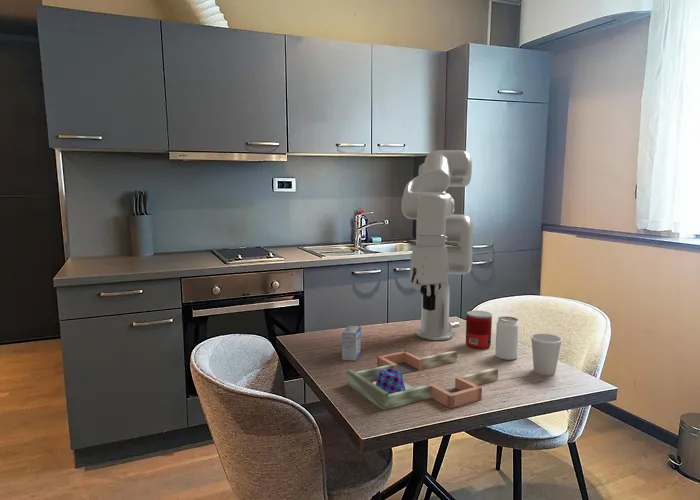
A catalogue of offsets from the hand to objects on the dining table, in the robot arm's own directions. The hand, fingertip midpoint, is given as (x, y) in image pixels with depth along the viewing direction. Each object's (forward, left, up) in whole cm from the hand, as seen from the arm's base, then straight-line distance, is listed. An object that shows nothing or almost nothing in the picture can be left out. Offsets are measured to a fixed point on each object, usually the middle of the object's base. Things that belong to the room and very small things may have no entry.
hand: (429, 309), depth 134 cm
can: (-32, -2, -20) cm, 38 cm away
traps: (+2, +1, -19) cm, 19 cm away
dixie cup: (-32, +12, -20) cm, 40 cm away
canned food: (-32, -14, -20) cm, 40 cm away
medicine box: (+9, -26, -20) cm, 33 cm away
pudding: (+13, +2, -20) cm, 24 cm away
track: (+2, +1, -19) cm, 19 cm away
